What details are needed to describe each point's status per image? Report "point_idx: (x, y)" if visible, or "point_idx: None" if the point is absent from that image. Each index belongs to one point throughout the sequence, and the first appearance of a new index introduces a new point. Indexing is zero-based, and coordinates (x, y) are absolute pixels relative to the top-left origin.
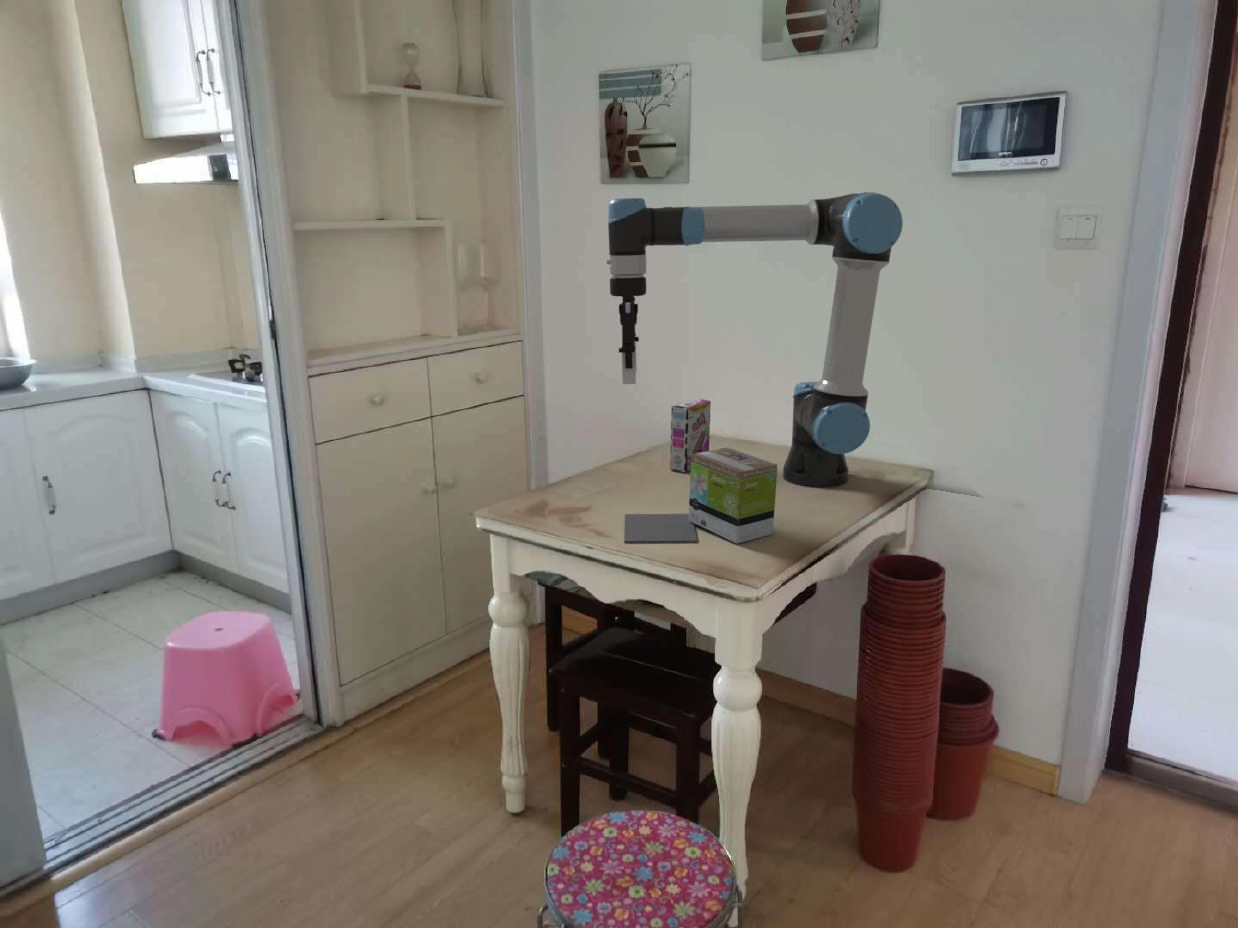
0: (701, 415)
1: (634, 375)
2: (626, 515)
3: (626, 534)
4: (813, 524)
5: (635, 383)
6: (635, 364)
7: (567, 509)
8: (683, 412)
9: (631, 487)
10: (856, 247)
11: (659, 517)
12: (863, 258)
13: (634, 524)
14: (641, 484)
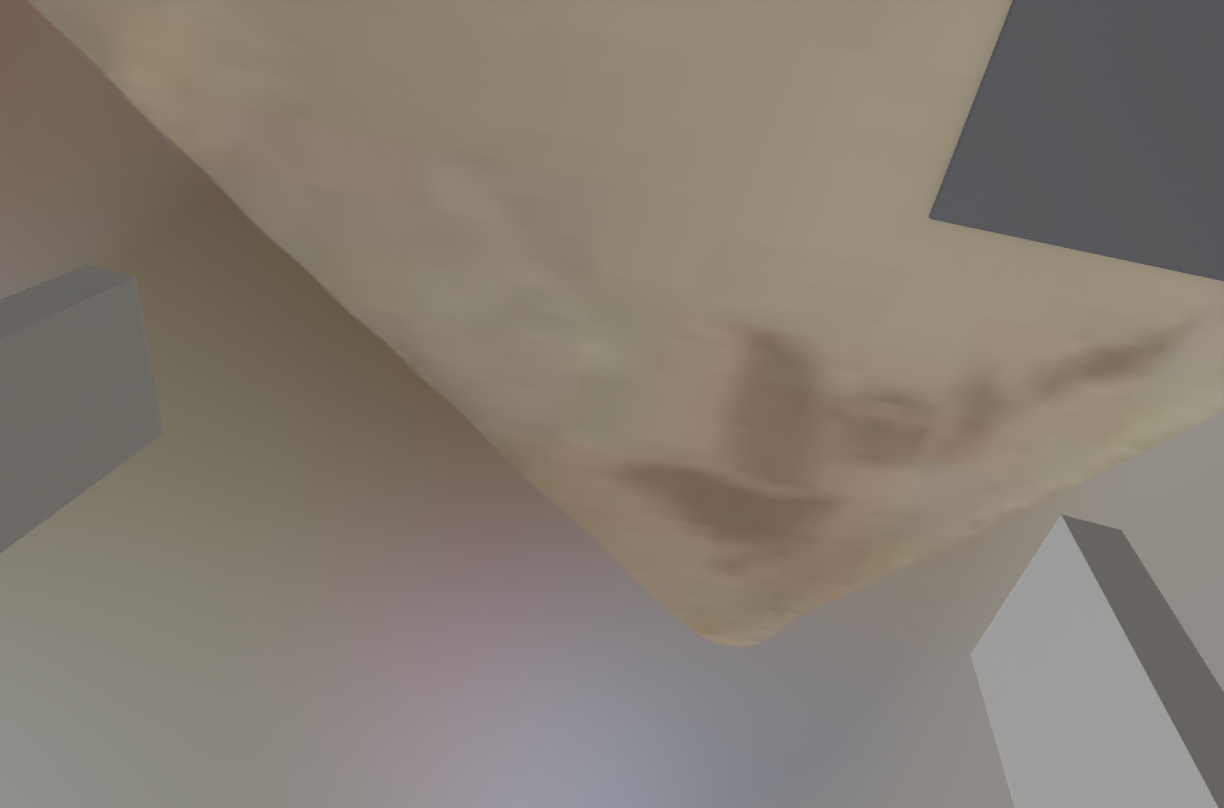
0: None
1: (1174, 648)
2: (953, 215)
3: (1219, 270)
4: None
5: (1124, 538)
6: (29, 339)
7: (759, 417)
8: None
9: (508, 95)
10: None
11: (1054, 57)
12: None
13: (1098, 206)
14: (464, 32)
